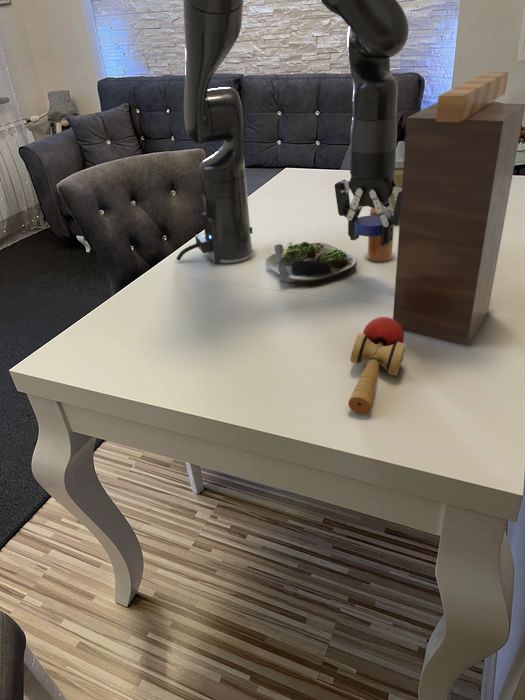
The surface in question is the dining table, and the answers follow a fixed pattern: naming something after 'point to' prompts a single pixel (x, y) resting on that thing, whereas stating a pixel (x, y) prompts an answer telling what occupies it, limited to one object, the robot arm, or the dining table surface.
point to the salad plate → (310, 263)
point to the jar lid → (368, 226)
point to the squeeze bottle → (398, 169)
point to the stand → (453, 218)
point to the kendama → (375, 358)
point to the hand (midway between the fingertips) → (369, 241)
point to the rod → (470, 97)
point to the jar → (379, 245)
